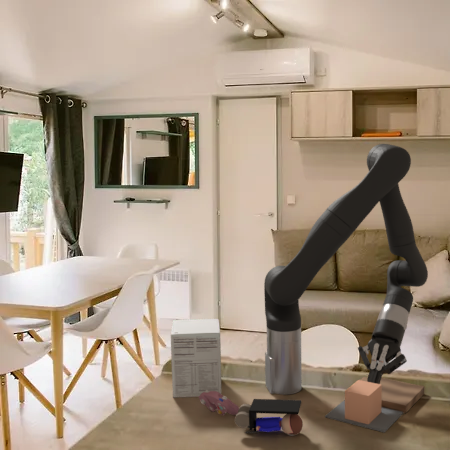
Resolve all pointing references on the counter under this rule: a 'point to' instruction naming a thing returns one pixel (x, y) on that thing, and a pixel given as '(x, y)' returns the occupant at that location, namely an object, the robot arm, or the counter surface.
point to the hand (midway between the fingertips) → (372, 385)
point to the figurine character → (267, 424)
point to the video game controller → (218, 403)
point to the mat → (378, 423)
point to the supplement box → (195, 357)
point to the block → (363, 401)
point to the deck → (399, 394)
